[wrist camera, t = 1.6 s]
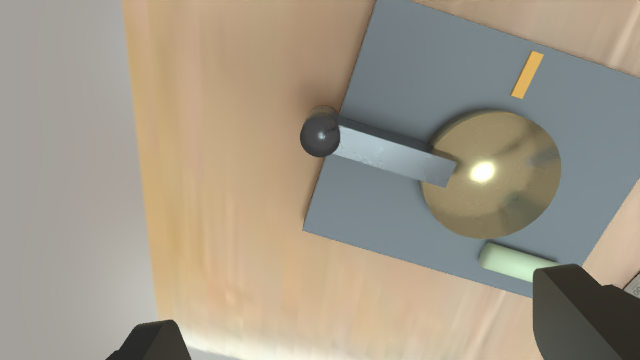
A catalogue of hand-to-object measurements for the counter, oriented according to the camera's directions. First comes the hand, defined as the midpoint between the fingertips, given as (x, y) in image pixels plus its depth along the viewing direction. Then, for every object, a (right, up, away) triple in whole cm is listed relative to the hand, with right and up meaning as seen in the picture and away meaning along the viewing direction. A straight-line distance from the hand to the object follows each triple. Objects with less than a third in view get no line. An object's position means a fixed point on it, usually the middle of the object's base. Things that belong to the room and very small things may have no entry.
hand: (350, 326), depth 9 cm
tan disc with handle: (+7, +5, +19) cm, 21 cm away
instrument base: (+11, +5, +21) cm, 25 cm away
